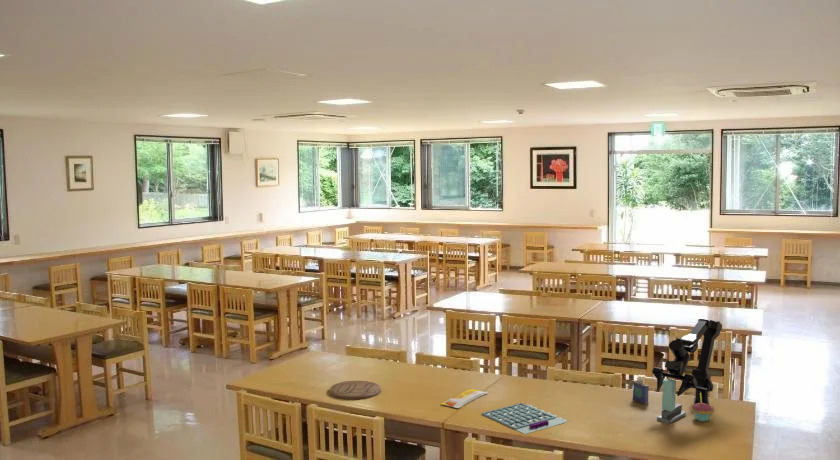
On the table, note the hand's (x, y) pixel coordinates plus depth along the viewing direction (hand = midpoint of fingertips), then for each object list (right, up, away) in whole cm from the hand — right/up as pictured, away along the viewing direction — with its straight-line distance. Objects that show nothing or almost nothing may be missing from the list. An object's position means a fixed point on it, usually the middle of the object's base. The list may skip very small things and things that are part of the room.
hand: (667, 393), depth 306 cm
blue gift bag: (-4, -10, +25) cm, 27 cm away
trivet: (-139, -9, +40) cm, 146 cm away
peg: (+1, -7, +2) cm, 8 cm away
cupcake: (+16, -12, +2) cm, 20 cm away
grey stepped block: (+3, -12, +4) cm, 13 cm away
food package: (-86, -10, +29) cm, 92 cm away
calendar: (-61, -13, +4) cm, 63 cm away
